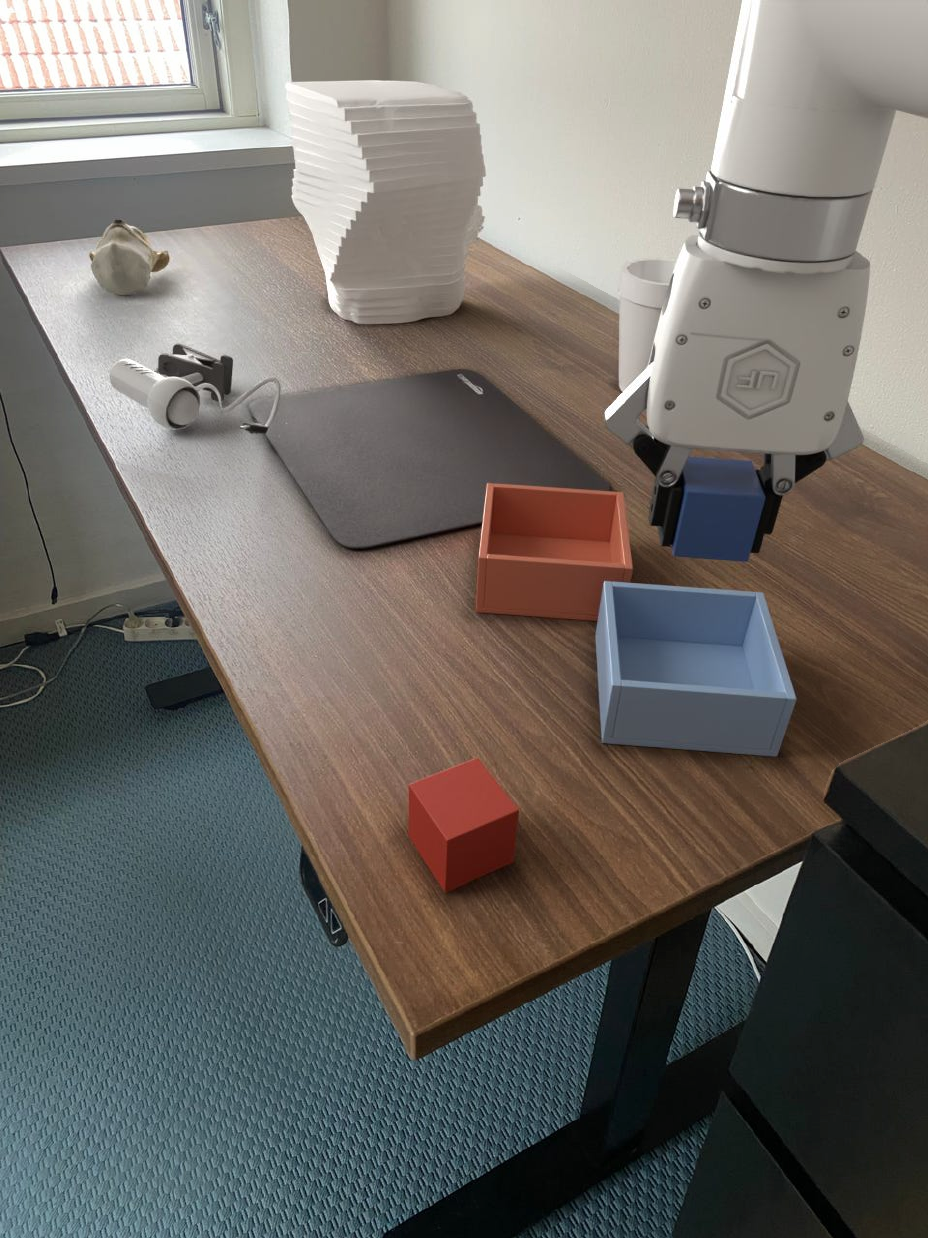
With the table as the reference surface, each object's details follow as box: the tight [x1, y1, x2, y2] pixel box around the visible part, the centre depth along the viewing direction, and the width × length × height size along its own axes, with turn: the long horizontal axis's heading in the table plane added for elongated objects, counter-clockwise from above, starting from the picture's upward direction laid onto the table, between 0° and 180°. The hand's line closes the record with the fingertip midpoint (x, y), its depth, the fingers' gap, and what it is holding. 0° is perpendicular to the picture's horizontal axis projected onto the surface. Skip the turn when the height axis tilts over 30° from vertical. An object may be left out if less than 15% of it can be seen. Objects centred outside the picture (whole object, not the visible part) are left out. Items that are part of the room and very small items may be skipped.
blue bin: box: [594, 581, 797, 758], centre depth 62 cm, size 11×11×5 cm
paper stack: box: [284, 79, 487, 325], centre depth 115 cm, size 21×27×26 cm
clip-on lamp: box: [109, 342, 281, 435], centre depth 93 cm, size 12×6×18 cm
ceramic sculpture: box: [88, 218, 171, 296], centre depth 125 cm, size 11×9×15 cm
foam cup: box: [617, 257, 678, 393], centre depth 101 cm, size 10×9×13 cm
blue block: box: [670, 456, 765, 563], centre depth 55 cm, size 4×4×4 cm
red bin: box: [475, 483, 634, 622], centre depth 73 cm, size 11×11×5 cm
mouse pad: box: [248, 368, 611, 550], centre depth 91 cm, size 32×27×1 cm
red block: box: [408, 757, 520, 893], centre depth 51 cm, size 4×4×4 cm
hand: (706, 535), depth 56 cm, fingers closed on blue block, 4 cm apart
